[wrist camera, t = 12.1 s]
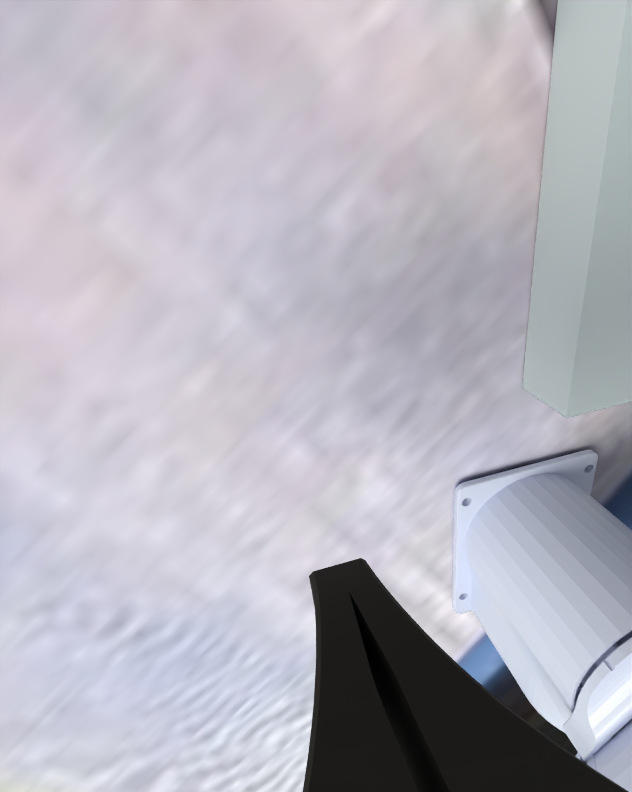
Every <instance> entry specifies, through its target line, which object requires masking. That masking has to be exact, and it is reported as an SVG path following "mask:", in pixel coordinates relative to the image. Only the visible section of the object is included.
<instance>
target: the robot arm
mask: <svg viewBox="0 0 632 792" xmlns="http://www.w3.org/2000/svg"><path fill="white" fill-rule="evenodd" d="M597 461H598V455H597V453H595V452H594V451H593V450H590V449H589V450H584V451H580V452H576V453H572V454H569V455H565V456H561V457H557V458H554V459H550V460H546V461H542V462H538V463H535V464H531V465H527V466H523V467H520V468H516V469H512V470H508V471H504V472H501V473H497V474H493V475H489V476H486V477H482V478H478V479H474V480H471V481H467V482H463V483H461V484H459V485H458V486H457V487H456V489H455V492H454V543H453V595H452V606H453V609H454V611H455V612H456V613H459V614H462V613H466V612H469V611H473V613H474V614H475V616H476V617H477V619H478V621H479V622H480V624H481V625H482V627H483V629H484V630H485V632H486V633H487V635H488V637H489V638H490V640H491V641H492V643H493V644H494V646H495V648H496V649H497V651H498V652H499V654H500V656H501V657H502V659H503V660H504V662H505V664H506V665H507V667H508V668H509V670H510V672H511V673H512V675H513V676H514V678H515V679H516V681H517V683H518V684H519V686H520V687H521V689H522V691H523V692H524V694H525V695H526V697H527V699H528V700H529V701H530V703H531V704H532V705H533V707H534V708H535V709H536V710H537V711H538V712H539V713H540V714H541V715H542V716H543V717H544V718H545V719H546V720H547V721H548V722H550V723H551V724H552V725H554V726H555V727H557V728H558V729H560V730H561V731H563V732H564V733H566V734H567V736H568V737H569V739H570V740H571V742H572V743H573V745H574V747H575V748H576V750H577V751H578V753H577V755H576V756H574V755H572V754H571V753H569V752H568V751H566V750H565V749H564V748H562V747H561V746H559V745H558V744H557V743H555V742H554V741H553V740H551V739H550V738H549V737H547V736H546V735H545V734H543V733H542V732H540V731H539V730H538V729H536V728H535V727H534V726H532V725H531V724H530V723H528V722H527V721H526V720H524V719H523V718H521V717H520V716H519V715H517V714H516V713H515V712H514V711H512V710H511V709H510V708H509V707H507V706H506V705H505V704H504V703H502V702H501V701H500V700H499V699H497V698H496V697H495V696H494V695H493V694H491V693H490V692H489V691H488V690H487V689H485V688H484V687H483V686H482V685H481V684H480V683H478V682H477V681H476V680H475V679H474V678H473V677H471V676H470V675H469V674H468V673H467V672H466V671H465V670H464V669H463V668H461V667H460V666H459V665H458V664H457V663H456V662H455V661H454V660H453V659H452V658H451V657H450V656H449V655H448V654H447V653H446V652H445V651H444V650H442V649H441V648H440V647H439V646H438V645H437V644H436V643H435V642H434V641H433V640H432V639H431V638H430V637H429V636H428V635H427V634H426V633H425V632H424V630H423V629H422V628H421V627H420V626H419V625H418V624H417V623H416V622H415V621H414V620H413V619H412V618H411V616H410V615H409V614H408V613H407V612H406V611H405V610H404V609H403V608H402V607H401V605H400V604H399V603H398V602H397V601H396V600H395V598H394V597H393V596H392V595H391V594H390V592H389V591H388V590H387V589H386V588H385V586H384V585H383V584H382V583H381V581H380V580H379V579H378V577H377V576H376V575H375V573H374V572H373V571H372V569H371V568H370V566H369V565H368V564H367V562H366V561H365V560H364V559H362V558H360V559H356V560H353V561H349V562H346V563H342V564H338V565H335V566H331V567H328V568H324V569H321V570H317V571H314V572H312V574H311V575H310V576H309V578H310V584H311V589H312V595H313V600H314V606H315V616H316V675H315V693H314V707H313V718H312V728H311V737H310V745H309V753H308V760H307V767H306V774H305V781H304V788H303V792H632V530H631V529H629V528H628V527H627V526H626V525H625V524H623V523H622V522H621V521H620V520H619V519H618V518H616V517H615V516H614V515H613V514H612V513H610V512H609V511H608V510H607V509H606V508H604V507H603V506H602V505H601V504H600V503H598V502H597V501H596V500H595V499H594V498H592V497H591V493H592V488H593V482H594V477H595V472H596V467H597ZM466 498H467V499H466ZM464 499H466V500H464ZM463 500H464V501H463Z"/></svg>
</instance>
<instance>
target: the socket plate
mask: <svg viewBox="0 0 632 792" xmlns="http://www.w3.org/2000/svg"><path fill="white" fill-rule="evenodd" d="M522 388H523V389H525V390H526V391H527V392H529V393H530V394H532V395H533V396H535V397H536V398H538V399H539V400H541V401H542V402H543V403H545V404H546V405H548V406H549V407H551V408H552V409H554V410H555V411H557V412H558V413H559V414H561V415H562V416H564V417H565V418H569V417H573V416H577V415H581V414H585V413H589V412H593V411H597V410H601V409H605V408H609V407H613V406H617V405H620V404H624V403H628V402H632V0H558V4H557V15H556V26H555V37H554V48H553V59H552V69H551V80H550V91H549V102H548V113H547V124H546V134H545V145H544V156H543V167H542V178H541V189H540V199H539V210H538V221H537V232H536V243H535V254H534V264H533V275H532V286H531V297H530V308H529V319H528V329H527V340H526V351H525V362H524V373H523V384H522Z"/></svg>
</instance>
